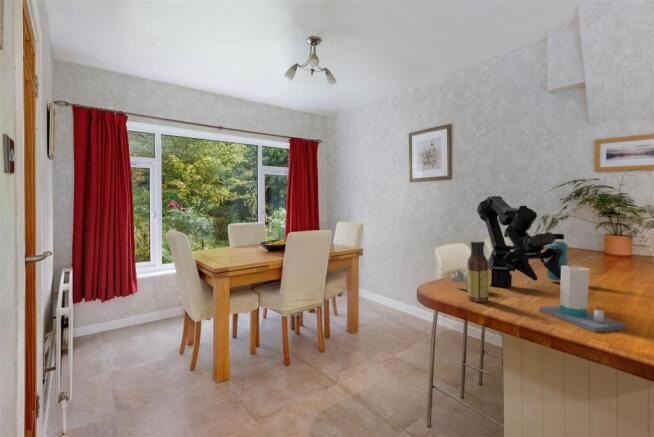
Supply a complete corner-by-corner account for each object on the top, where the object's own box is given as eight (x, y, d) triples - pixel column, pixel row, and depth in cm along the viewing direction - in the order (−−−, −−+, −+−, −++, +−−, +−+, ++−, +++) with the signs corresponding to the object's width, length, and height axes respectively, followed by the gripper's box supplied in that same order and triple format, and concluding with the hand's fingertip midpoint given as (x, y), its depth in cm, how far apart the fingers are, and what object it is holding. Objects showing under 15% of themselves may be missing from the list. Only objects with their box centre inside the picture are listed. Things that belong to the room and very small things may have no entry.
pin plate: (539, 310, 95) (540, 297, 95) (566, 308, 97) (567, 295, 97) (594, 332, 79) (595, 316, 79) (625, 329, 82) (626, 313, 81)
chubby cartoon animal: (454, 285, 125) (455, 263, 124) (487, 290, 117) (488, 267, 116) (447, 288, 120) (448, 266, 119) (481, 295, 112) (482, 271, 111)
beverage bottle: (570, 284, 125) (572, 234, 124) (553, 284, 125) (555, 234, 124) (558, 280, 132) (560, 232, 130) (542, 280, 132) (544, 232, 131)
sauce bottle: (486, 298, 107) (488, 240, 106) (489, 304, 101) (491, 242, 100) (465, 296, 109) (467, 239, 108) (467, 302, 104) (469, 241, 102)
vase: (560, 313, 89) (562, 268, 89) (559, 307, 94) (560, 264, 94) (587, 318, 86) (589, 270, 85) (584, 311, 91) (586, 266, 90)
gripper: (511, 224, 100) (540, 266, 90) (559, 223, 104) (592, 263, 94) (492, 245, 108) (517, 286, 98) (538, 243, 112) (566, 282, 102)
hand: (548, 279), depth 98 cm, fingers open, 9 cm apart
